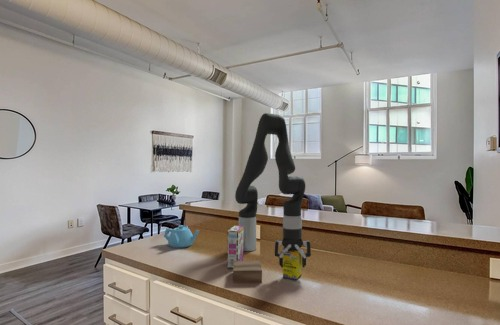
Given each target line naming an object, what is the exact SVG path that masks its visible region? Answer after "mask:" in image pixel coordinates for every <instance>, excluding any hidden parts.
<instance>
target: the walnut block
mask: <svg viewBox="0 0 500 325" xmlns="http://www.w3.org/2000/svg"><path fill="white" fill-rule="evenodd" d="M261 263H262V262H261V260H243V261H234V267H233V269H232V272H233V273H232V278H233V280H232V283H233V284H262V283H263V269H262V264H261Z"/></svg>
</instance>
